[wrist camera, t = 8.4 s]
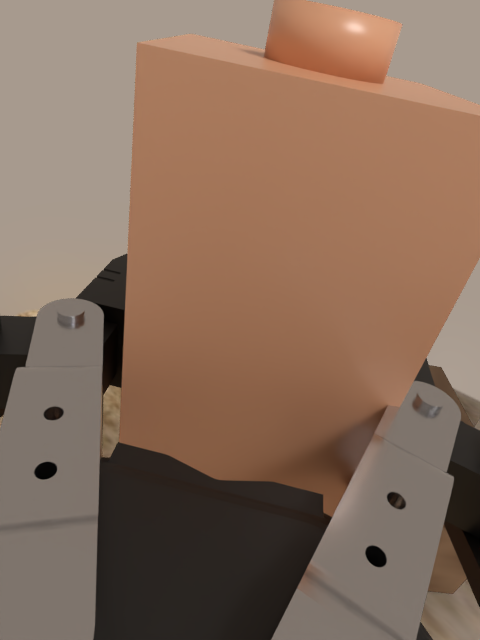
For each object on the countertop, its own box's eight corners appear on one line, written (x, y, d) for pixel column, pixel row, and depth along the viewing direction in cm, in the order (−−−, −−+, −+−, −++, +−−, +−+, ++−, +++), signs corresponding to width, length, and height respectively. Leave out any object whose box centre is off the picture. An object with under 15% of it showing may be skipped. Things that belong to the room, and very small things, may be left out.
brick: (281, 466, 17) (437, 40, 9) (289, 612, 13) (588, 54, 5) (149, 446, 16) (196, -15, 9) (112, 590, 12) (140, -48, 5)
